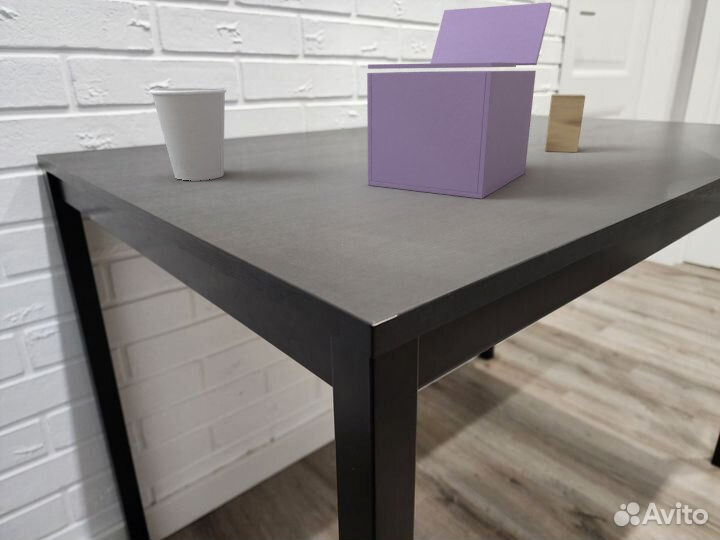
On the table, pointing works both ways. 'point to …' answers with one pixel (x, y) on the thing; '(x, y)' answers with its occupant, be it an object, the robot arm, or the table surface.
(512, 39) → the box lid
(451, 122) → the box
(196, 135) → the dixie cup
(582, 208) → the table surface
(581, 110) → the block
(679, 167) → the table surface
